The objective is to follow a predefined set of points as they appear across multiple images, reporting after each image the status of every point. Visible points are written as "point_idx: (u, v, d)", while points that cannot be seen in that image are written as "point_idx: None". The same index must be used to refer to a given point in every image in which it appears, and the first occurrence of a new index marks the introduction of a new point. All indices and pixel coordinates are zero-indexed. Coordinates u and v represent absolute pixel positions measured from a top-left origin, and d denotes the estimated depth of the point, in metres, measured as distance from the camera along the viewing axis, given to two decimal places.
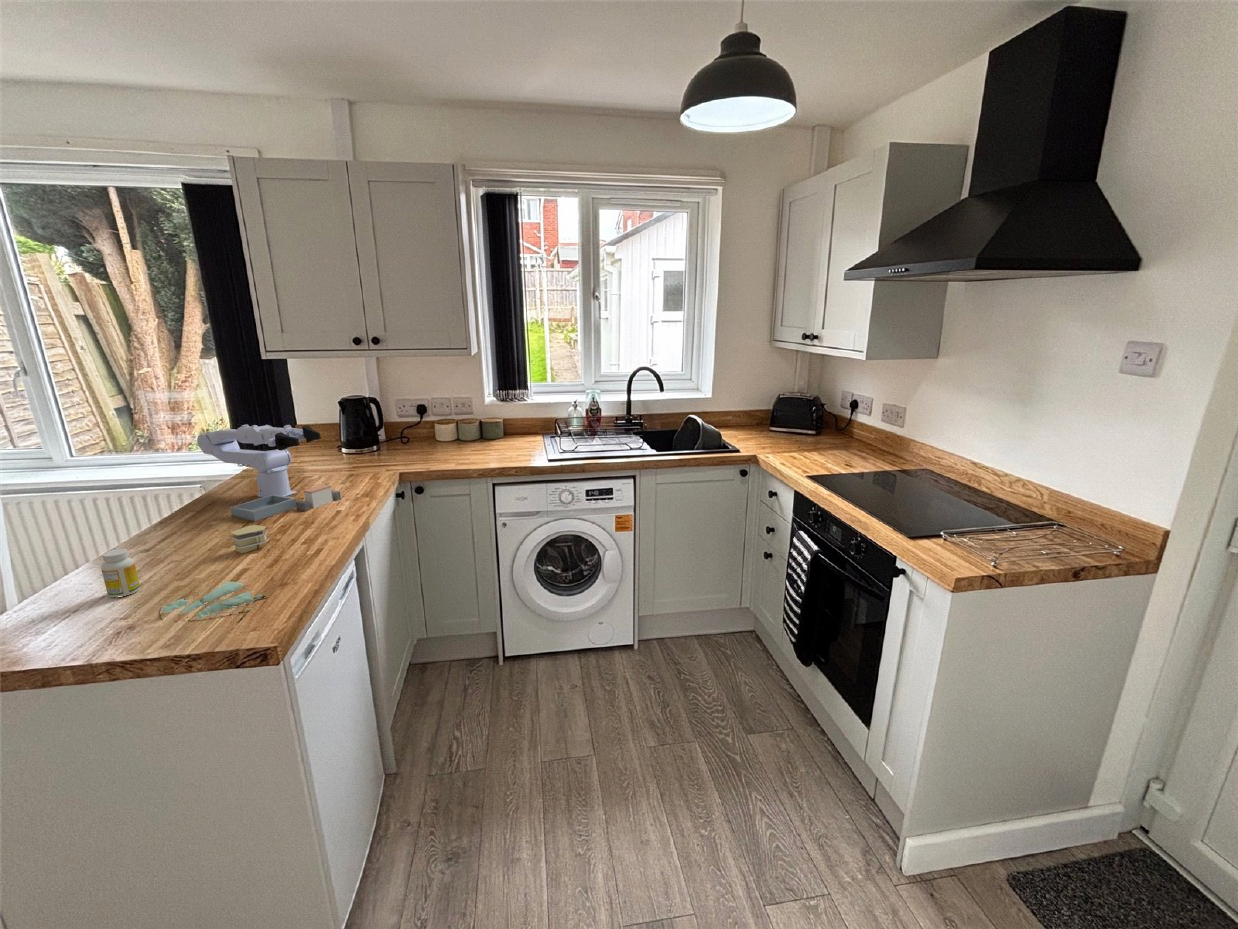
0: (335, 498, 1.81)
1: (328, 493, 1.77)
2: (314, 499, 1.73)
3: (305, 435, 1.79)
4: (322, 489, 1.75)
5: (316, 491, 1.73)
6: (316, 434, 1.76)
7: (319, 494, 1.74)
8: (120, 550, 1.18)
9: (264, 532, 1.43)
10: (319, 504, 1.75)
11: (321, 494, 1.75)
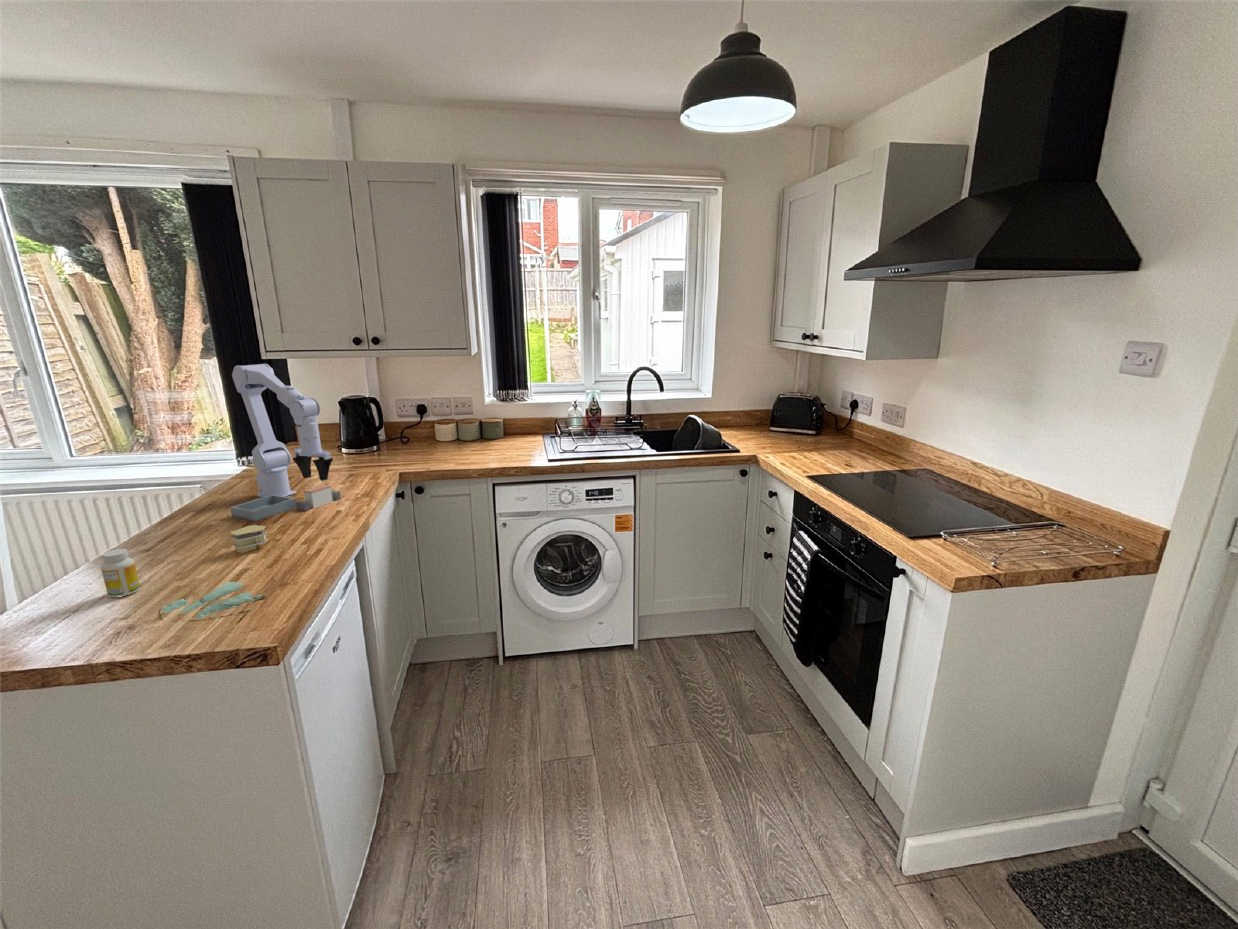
0: (335, 498, 1.81)
1: (328, 493, 1.77)
2: (314, 499, 1.73)
3: None
4: (322, 489, 1.75)
5: (316, 491, 1.73)
6: None
7: (319, 494, 1.74)
8: (120, 550, 1.18)
9: (264, 532, 1.43)
10: (319, 504, 1.75)
11: (321, 494, 1.75)
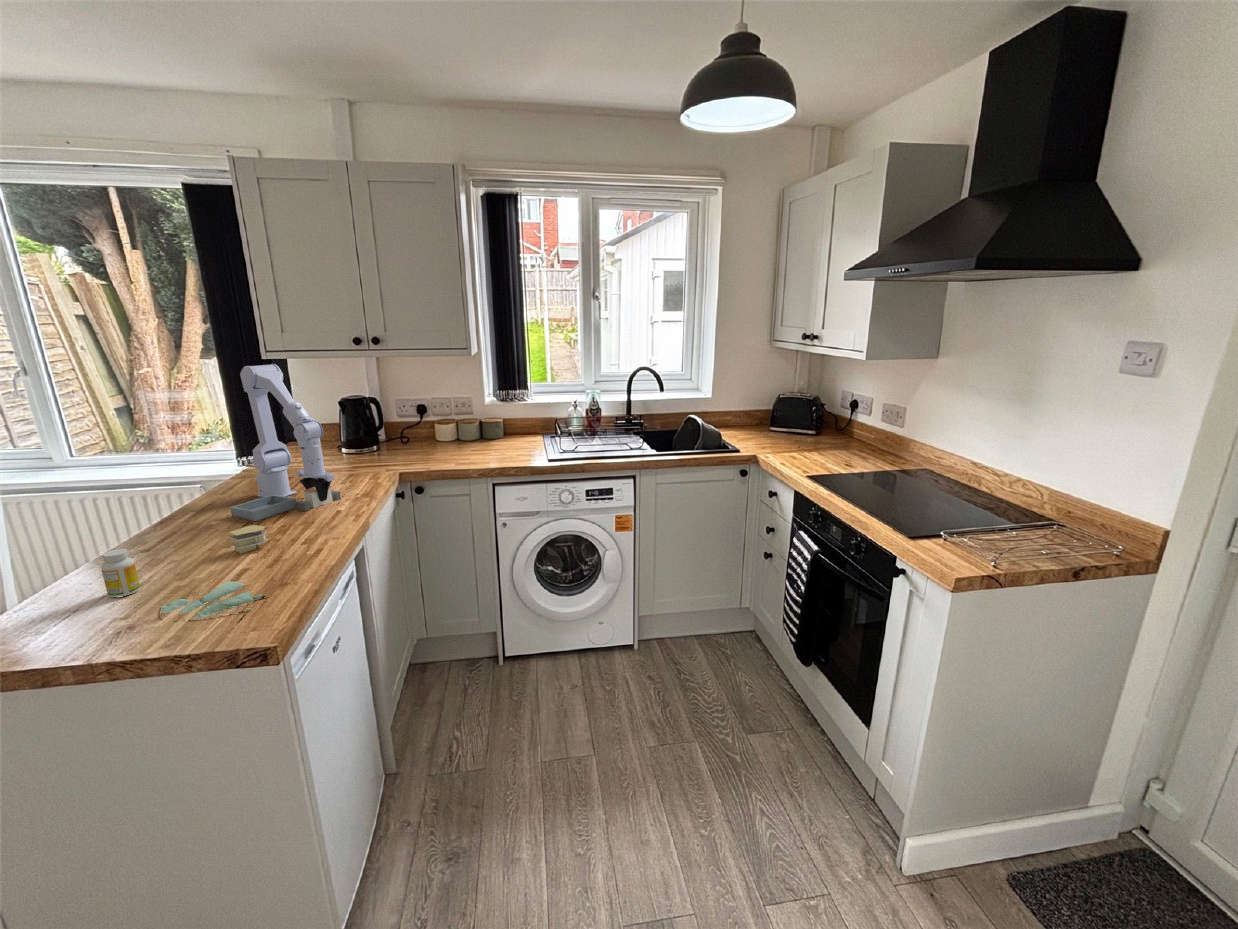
0: (335, 498, 1.81)
1: (328, 493, 1.77)
2: (314, 499, 1.73)
3: None
4: None
5: (316, 491, 1.73)
6: None
7: None
8: (120, 550, 1.18)
9: (263, 532, 1.43)
10: (319, 504, 1.75)
11: None
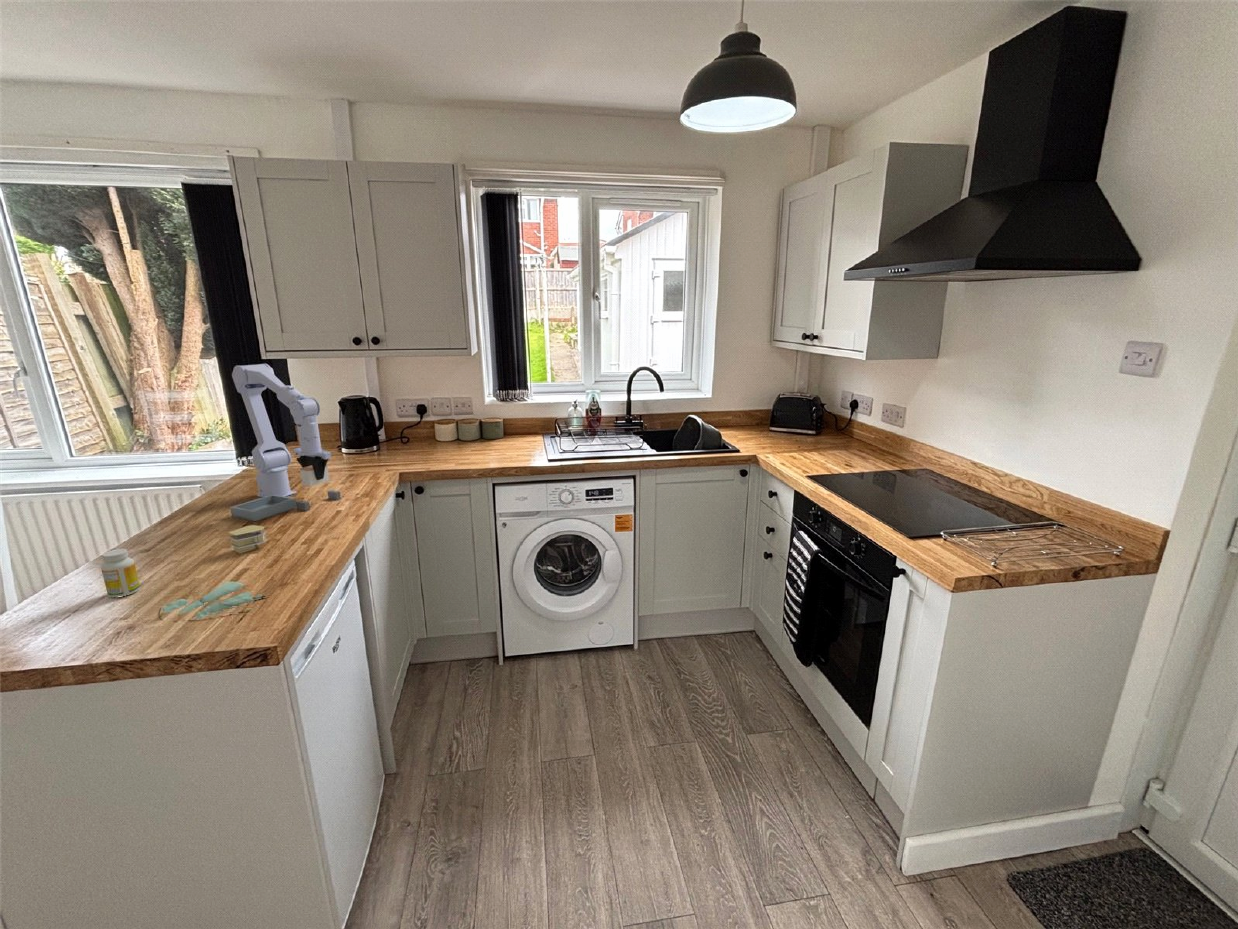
0: (335, 498, 1.81)
1: (325, 472, 1.76)
2: (310, 477, 1.71)
3: None
4: None
5: (313, 469, 1.71)
6: None
7: None
8: (120, 550, 1.18)
9: (262, 532, 1.43)
10: (316, 482, 1.73)
11: None
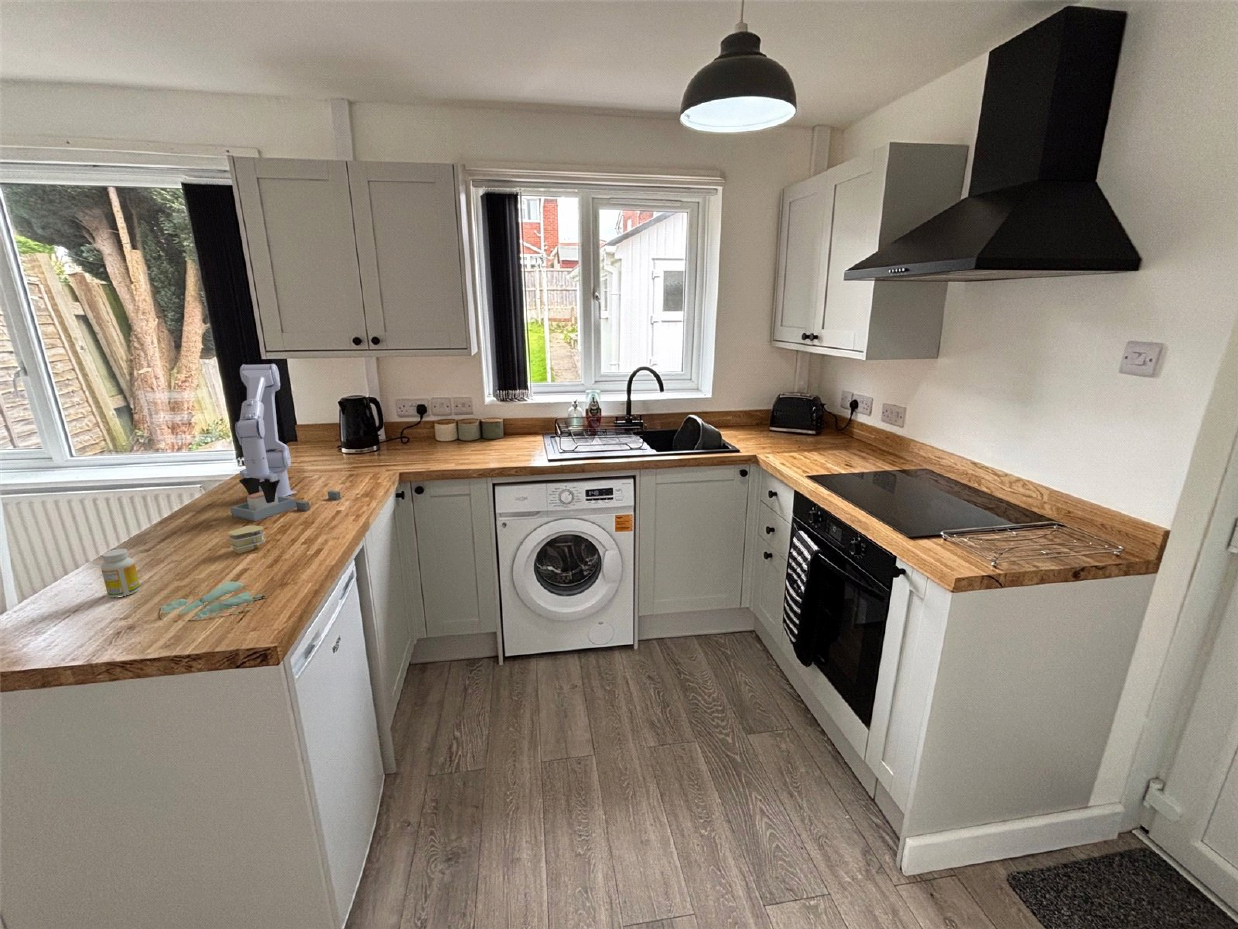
0: (335, 498, 1.81)
1: None
2: (258, 505, 1.65)
3: None
4: None
5: (260, 496, 1.66)
6: None
7: (263, 500, 1.67)
8: (120, 550, 1.18)
9: (261, 532, 1.43)
10: None
11: None
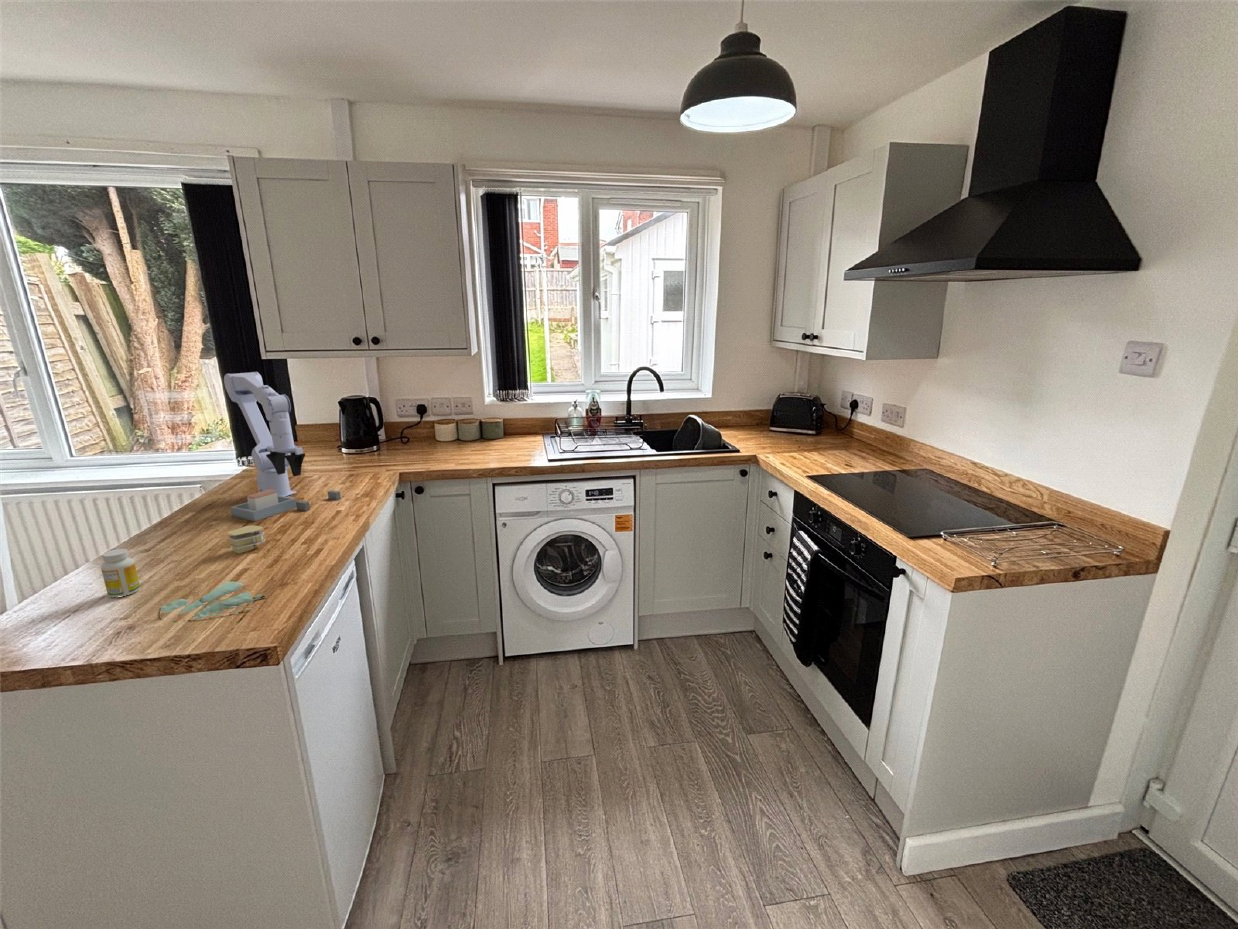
0: (335, 498, 1.81)
1: (274, 498, 1.70)
2: (258, 505, 1.65)
3: None
4: (267, 494, 1.68)
5: (260, 496, 1.66)
6: None
7: (263, 500, 1.67)
8: (120, 550, 1.18)
9: (261, 532, 1.43)
10: None
11: (266, 499, 1.68)
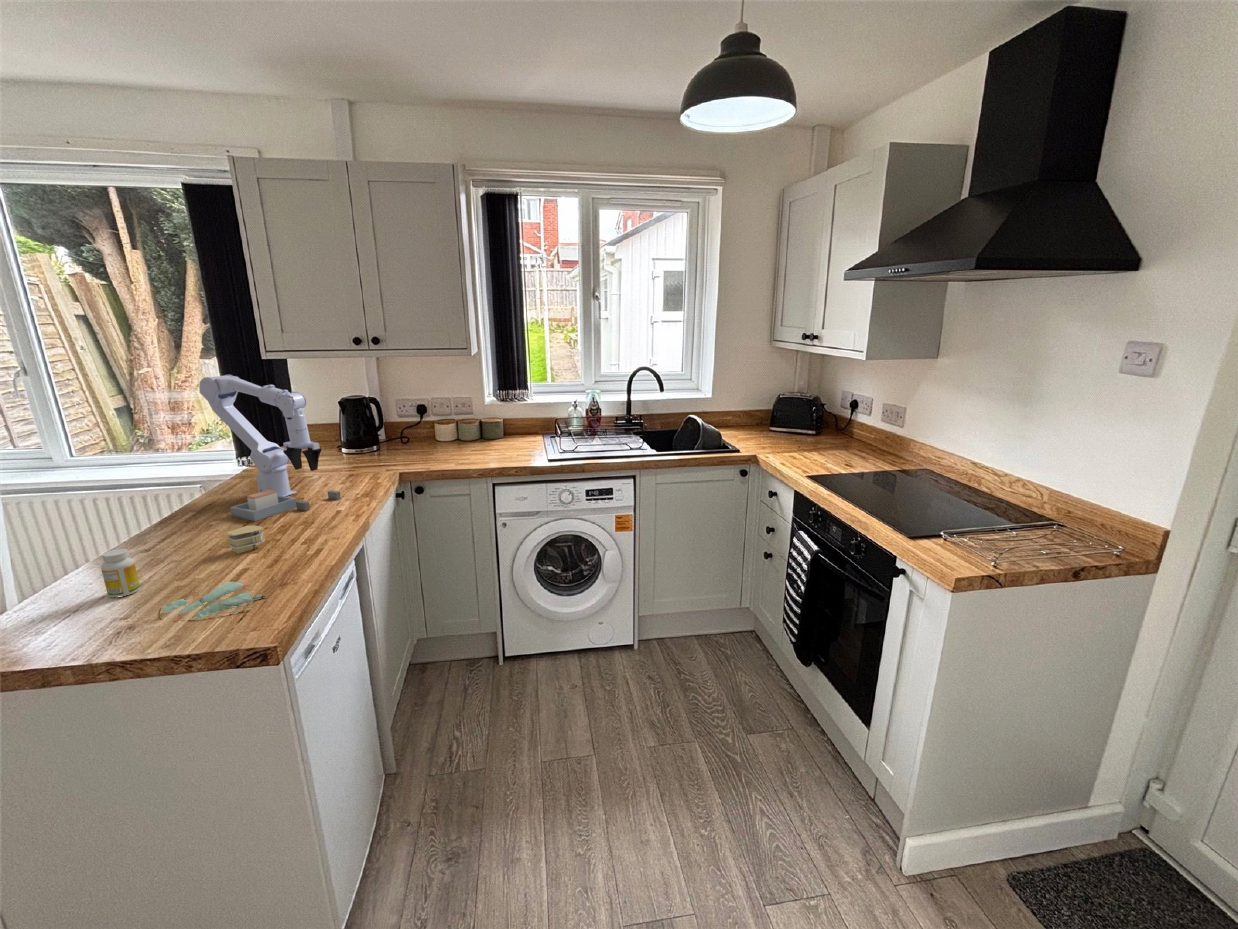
0: (335, 498, 1.81)
1: (274, 498, 1.70)
2: (258, 505, 1.65)
3: None
4: (267, 494, 1.68)
5: (260, 496, 1.66)
6: None
7: (263, 500, 1.67)
8: (120, 550, 1.18)
9: (260, 532, 1.43)
10: None
11: (266, 499, 1.68)
